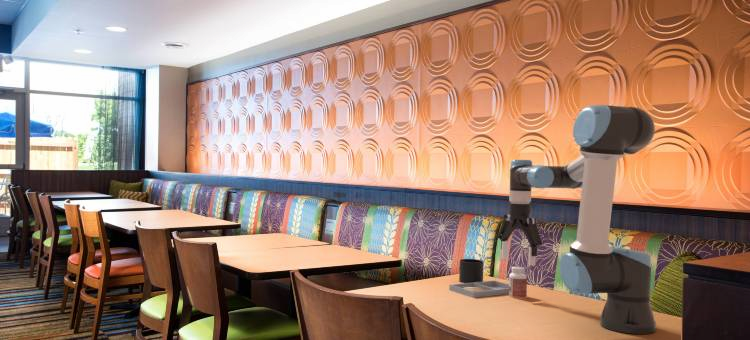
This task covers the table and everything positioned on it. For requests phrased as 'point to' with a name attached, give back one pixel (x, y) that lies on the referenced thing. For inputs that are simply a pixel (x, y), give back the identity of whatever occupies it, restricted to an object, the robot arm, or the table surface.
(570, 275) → the robot arm
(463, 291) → the caddy
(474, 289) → the coaster
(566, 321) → the table surface
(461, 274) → the mug
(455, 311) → the table surface
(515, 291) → the pill bottle
